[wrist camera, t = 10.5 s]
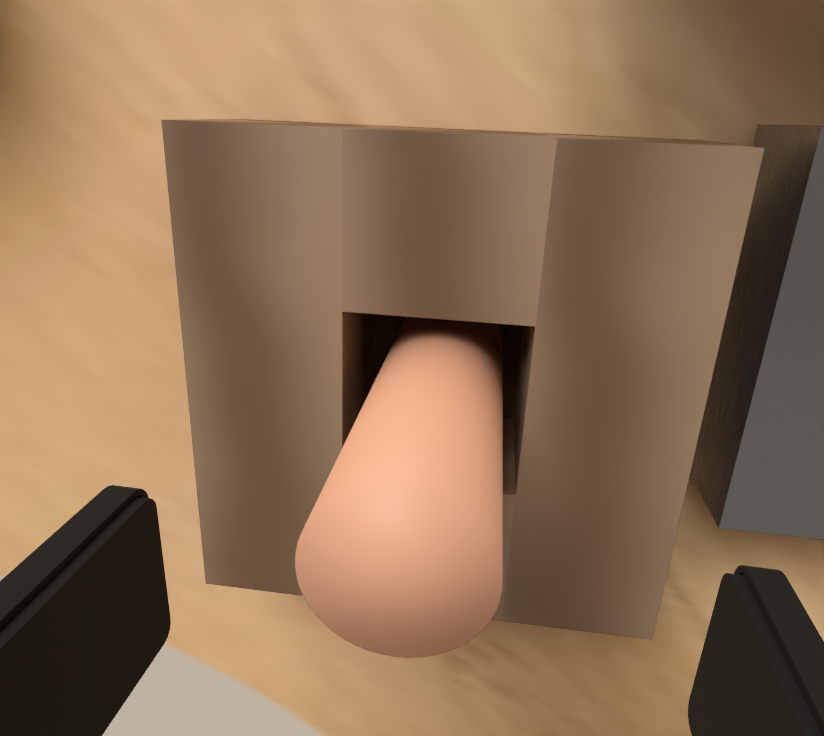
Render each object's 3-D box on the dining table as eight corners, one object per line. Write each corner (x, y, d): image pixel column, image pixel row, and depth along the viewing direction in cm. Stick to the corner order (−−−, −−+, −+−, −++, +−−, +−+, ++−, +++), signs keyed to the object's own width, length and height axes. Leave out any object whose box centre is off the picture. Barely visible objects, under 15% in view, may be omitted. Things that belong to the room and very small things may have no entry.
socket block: (700, 140, 19) (764, 148, 14) (623, 539, 24) (652, 639, 19) (239, 119, 20) (161, 120, 16) (259, 498, 25) (206, 583, 21)
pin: (507, 299, 21) (512, 498, 10) (497, 398, 23) (493, 670, 12) (399, 291, 22) (292, 474, 11) (396, 389, 23) (297, 643, 12)
